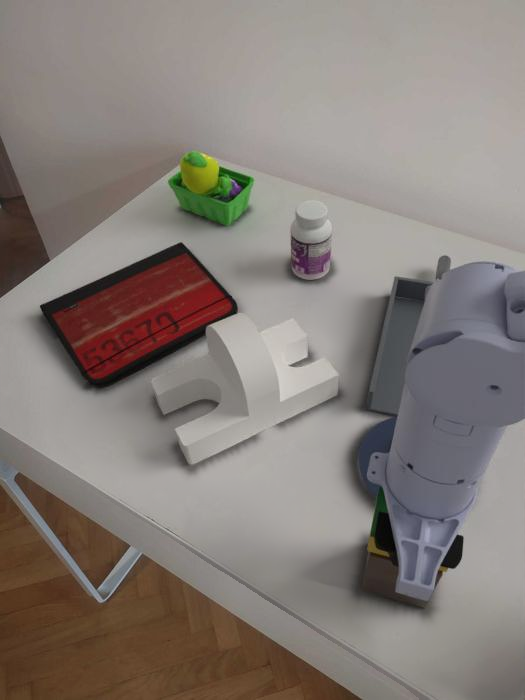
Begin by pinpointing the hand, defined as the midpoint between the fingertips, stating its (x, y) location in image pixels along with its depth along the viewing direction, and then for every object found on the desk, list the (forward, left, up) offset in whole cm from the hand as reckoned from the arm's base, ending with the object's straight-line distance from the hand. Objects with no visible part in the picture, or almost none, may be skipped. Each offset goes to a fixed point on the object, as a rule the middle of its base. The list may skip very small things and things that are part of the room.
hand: (410, 535), depth 45 cm
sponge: (0, 0, 0) cm, 0 cm away
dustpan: (+11, -27, -8) cm, 31 cm away
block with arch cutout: (+23, -7, -9) cm, 26 cm away
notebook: (+42, -9, -9) cm, 44 cm away
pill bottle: (+30, -29, -9) cm, 43 cm away
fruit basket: (+50, -31, -9) cm, 60 cm away
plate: (+4, -10, -8) cm, 14 cm away
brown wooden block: (0, 0, -8) cm, 8 cm away
